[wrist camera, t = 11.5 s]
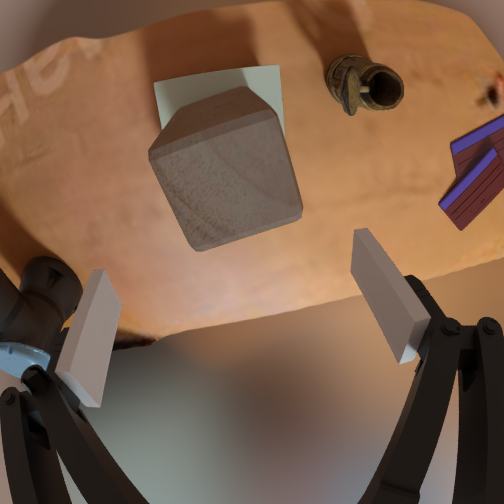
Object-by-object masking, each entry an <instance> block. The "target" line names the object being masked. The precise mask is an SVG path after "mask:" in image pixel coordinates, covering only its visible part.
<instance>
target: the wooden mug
mask: <svg viewBox="0 0 504 504" xmlns="http://www.w3.org/2000/svg"><path fill="white" fill-rule="evenodd" d="M326 82H327V87H328V89H329V91H330V93H331V95H332V96H333V98H334V99H335V100H336V101H337V102H338V103H341V104H342V105H343V109H344V111H345V113H347V114H348V115H350V116H353V115H354V114H355V113H356V111H357V107H363V108H365V109H367V110H371V111H384V110H389V109H393V108H395V107H396V106H397V105H398V104H399V103H400V102H401V100H402V98H403V96H404V85H403V81H402V79H401V78H400V76H399V75H398V74H397V73H396V72H394V71H393V70H392V69H391V68H389V67H387V66H385V65H382V64H379V63H374V62H371V61H369V60H368V59H366V58H365V57H362V56H359V55H344V56H342V57H339V58H337V59H336V60H335V61H334V62H333V63H332V64H331V66H330V68H329V70H328V73H327V80H326Z"/></svg>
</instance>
